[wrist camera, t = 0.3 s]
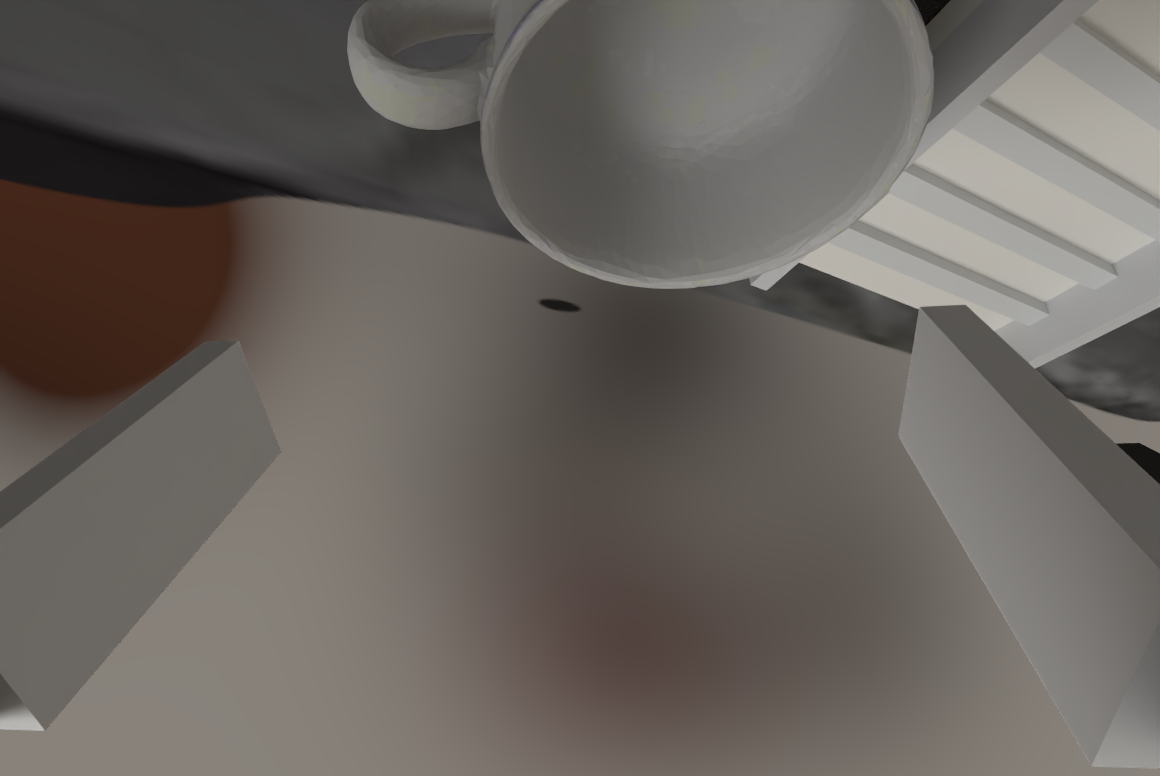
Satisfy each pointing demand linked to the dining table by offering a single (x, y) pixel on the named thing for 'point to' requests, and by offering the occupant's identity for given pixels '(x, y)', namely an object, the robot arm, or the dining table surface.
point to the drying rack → (1025, 176)
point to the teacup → (667, 121)
